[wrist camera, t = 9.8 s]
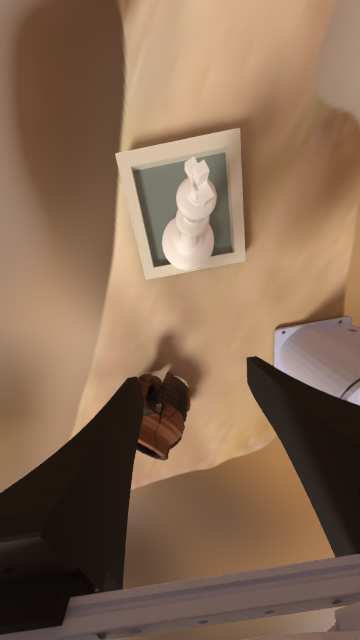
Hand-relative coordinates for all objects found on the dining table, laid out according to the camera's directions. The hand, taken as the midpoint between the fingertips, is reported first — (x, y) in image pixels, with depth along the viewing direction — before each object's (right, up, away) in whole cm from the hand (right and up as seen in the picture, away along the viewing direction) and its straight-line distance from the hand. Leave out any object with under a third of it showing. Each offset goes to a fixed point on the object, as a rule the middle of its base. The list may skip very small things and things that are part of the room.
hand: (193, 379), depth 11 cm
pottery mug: (-5, -7, +14) cm, 16 cm away
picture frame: (0, +14, +6) cm, 15 cm away
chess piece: (0, +11, +5) cm, 12 cm away
